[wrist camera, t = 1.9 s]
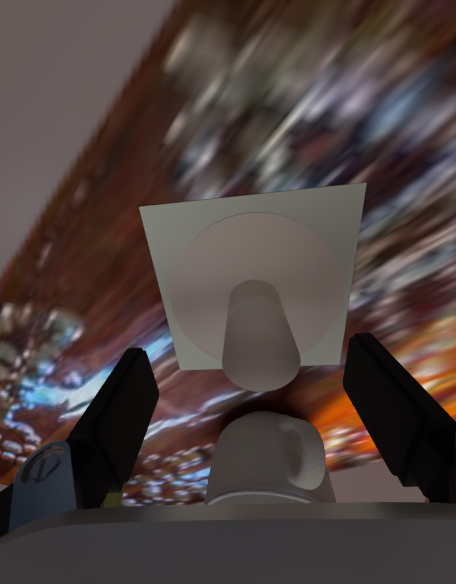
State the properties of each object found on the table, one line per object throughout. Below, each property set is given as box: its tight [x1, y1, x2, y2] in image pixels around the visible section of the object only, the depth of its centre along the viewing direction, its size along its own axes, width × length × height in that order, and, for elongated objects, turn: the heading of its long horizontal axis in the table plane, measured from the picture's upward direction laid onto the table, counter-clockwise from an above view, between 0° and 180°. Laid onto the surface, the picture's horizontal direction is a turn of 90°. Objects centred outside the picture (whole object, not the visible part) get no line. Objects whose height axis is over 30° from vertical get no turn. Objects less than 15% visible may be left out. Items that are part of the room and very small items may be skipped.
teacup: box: [204, 411, 336, 505], centre depth 19 cm, size 14×11×8 cm
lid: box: [170, 212, 343, 392], centre depth 13 cm, size 12×12×7 cm
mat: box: [139, 183, 367, 370], centre depth 17 cm, size 14×14×1 cm
